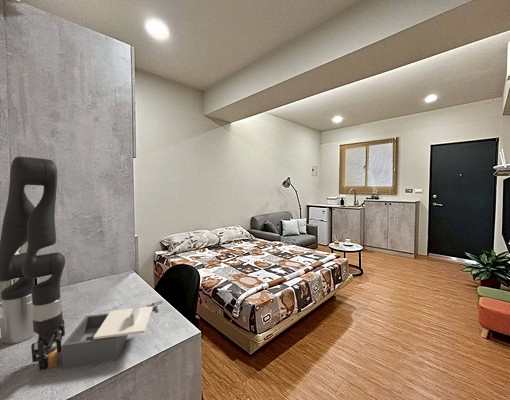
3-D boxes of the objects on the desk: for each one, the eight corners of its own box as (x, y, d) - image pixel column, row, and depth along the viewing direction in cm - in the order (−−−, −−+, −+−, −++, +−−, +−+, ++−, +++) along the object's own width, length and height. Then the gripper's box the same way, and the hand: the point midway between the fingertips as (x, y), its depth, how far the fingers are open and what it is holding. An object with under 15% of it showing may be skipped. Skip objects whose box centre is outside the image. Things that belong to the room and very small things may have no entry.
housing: (63, 368, 79) (61, 345, 78) (87, 334, 96) (86, 315, 96) (116, 360, 83) (115, 338, 82) (130, 329, 100) (129, 310, 100)
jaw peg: (41, 369, 79) (39, 349, 78) (47, 361, 82) (46, 342, 82) (53, 367, 79) (52, 347, 79) (60, 359, 83) (58, 340, 82)
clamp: (134, 317, 106) (129, 308, 113) (134, 322, 106) (129, 313, 114) (168, 306, 115) (161, 298, 123) (168, 311, 115) (161, 303, 123)
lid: (93, 339, 81) (92, 325, 81) (110, 312, 97) (110, 301, 97) (144, 332, 85) (144, 319, 84) (152, 308, 101) (152, 297, 101)
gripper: (47, 304, 85) (50, 348, 87) (18, 327, 72) (22, 379, 73) (71, 301, 87) (74, 344, 88) (48, 324, 73) (51, 374, 75)
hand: (50, 360), depth 81 cm, fingers open, 7 cm apart
